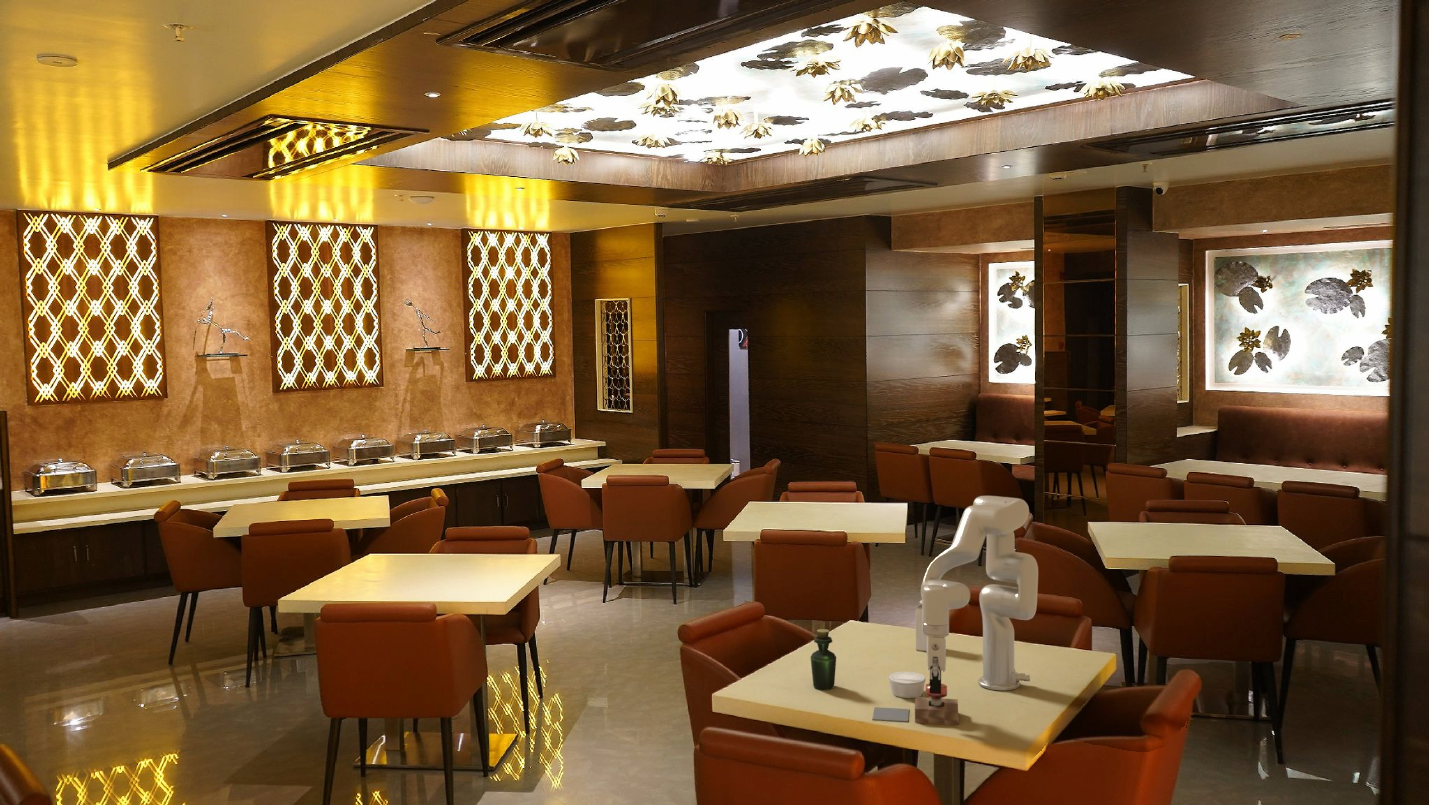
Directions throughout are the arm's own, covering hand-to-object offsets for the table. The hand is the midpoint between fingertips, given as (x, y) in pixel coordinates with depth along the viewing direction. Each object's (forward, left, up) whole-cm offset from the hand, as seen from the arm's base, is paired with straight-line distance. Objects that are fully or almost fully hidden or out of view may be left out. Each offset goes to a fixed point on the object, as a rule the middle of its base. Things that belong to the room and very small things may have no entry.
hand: (935, 688), depth 294 cm
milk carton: (+3, -69, -9) cm, 70 cm away
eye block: (0, 0, -9) cm, 9 cm away
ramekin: (+9, -20, -9) cm, 24 cm away
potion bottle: (+35, -22, -9) cm, 42 cm away
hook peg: (0, 0, -9) cm, 9 cm away
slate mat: (+13, 0, -9) cm, 15 cm away
